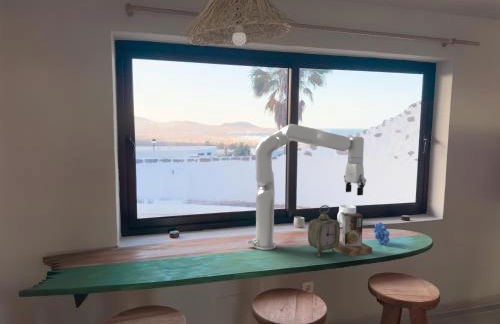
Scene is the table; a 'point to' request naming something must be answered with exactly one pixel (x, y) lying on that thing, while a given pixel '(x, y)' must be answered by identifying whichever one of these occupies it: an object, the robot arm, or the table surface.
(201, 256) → the table surface
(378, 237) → the grapes
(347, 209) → the mug
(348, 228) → the coffee box
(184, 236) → the table surface
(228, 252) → the table surface
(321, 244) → the tabletop clock
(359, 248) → the walnut shelf
